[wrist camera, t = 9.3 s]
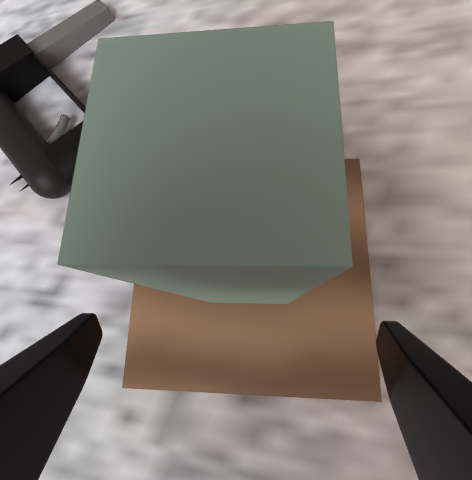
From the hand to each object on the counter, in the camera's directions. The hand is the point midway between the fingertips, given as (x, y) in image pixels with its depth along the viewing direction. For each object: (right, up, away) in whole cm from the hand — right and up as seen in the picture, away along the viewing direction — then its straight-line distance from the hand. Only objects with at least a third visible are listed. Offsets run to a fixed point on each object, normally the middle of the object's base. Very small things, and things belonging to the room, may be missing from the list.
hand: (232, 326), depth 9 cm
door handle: (-16, +17, +18) cm, 29 cm away
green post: (+1, +1, +8) cm, 8 cm away
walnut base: (+1, 0, +11) cm, 11 cm away
